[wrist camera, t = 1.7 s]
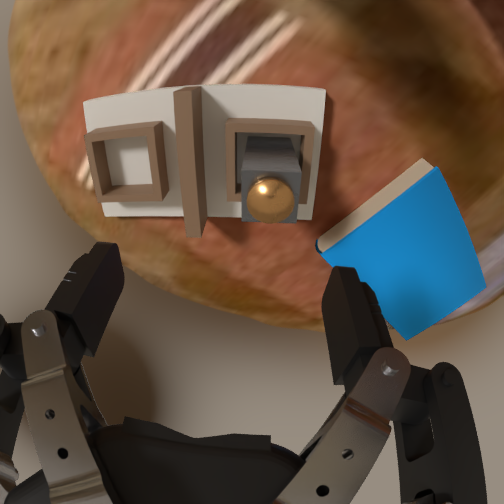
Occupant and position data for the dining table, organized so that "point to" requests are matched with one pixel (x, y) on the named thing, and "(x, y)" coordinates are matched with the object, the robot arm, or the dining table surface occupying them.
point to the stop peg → (270, 181)
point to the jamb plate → (195, 147)
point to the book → (409, 250)
